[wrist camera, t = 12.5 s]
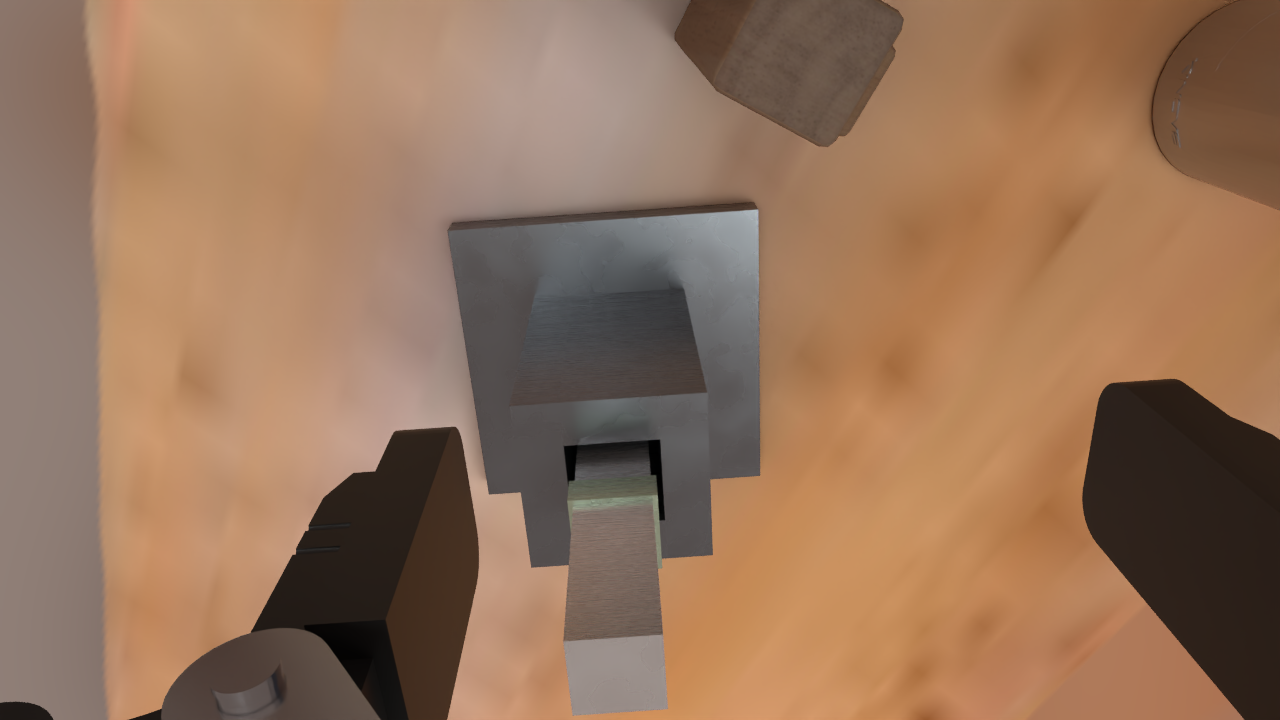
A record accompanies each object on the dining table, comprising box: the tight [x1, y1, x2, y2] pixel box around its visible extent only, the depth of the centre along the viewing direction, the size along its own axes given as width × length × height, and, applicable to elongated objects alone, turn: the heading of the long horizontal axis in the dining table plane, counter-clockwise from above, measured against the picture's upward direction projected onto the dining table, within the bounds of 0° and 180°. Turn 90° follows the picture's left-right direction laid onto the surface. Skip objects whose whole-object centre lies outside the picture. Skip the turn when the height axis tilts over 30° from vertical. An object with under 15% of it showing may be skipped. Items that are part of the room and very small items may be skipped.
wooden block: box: [675, 0, 904, 147], centre depth 35 cm, size 9×4×18 cm, turn 63°
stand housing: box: [448, 202, 760, 568], centre depth 43 cm, size 16×16×14 cm
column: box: [563, 440, 668, 716], centre depth 35 cm, size 3×3×18 cm
